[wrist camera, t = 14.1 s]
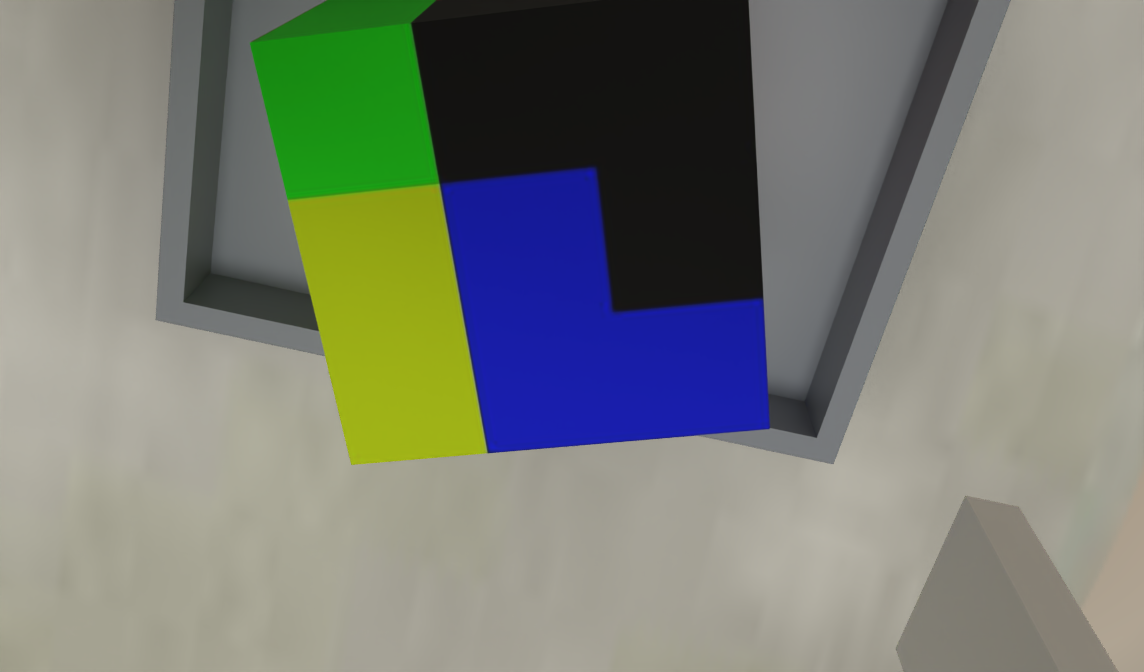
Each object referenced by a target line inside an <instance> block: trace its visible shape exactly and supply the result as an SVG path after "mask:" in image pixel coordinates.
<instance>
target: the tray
mask: <svg viewBox="0 0 1144 672" xmlns="http://www.w3.org/2000/svg"><path fill="white" fill-rule="evenodd" d="M324 1H326V0H175V3H174V19H173V36H172V53H171V70H170V87H169V103H168V120H167V137H166V154H165V171H164V187H163V204H162V221H161V238H160V255H159V272H158V288H157V305H156V320H158V321H162V322H167V323H172V324H176V325H181V326H186V327H190V328H195V329H200V330H205V331H209V332H214V333H219V334H223V335H228V336H233V337H237V338H242V339H247V340H252V341H256V342H261V343H266V344H270V345H275V346H280V347H284V348H289V349H294V350H299V351H303V352H308V353H313V354H317V355H322V356H325V354H324V349H323V345H322V341H321V337H320V333H319V329H318V324H317V320H316V316H315V312H314V308H313V304H312V300H311V295H310V291H309V287H308V283H307V279H306V275H305V271H304V266H303V262H302V258H301V254H300V250H299V246H298V241H297V237H296V233H295V229H294V225H293V221H292V217H291V212H290V208H289V204H288V200H287V196H286V192H285V188H284V183H283V179H282V175H281V171H280V167H279V163H278V159H277V154H276V150H275V146H274V142H273V138H272V134H271V129H270V125H269V121H268V117H267V113H266V109H265V105H264V100H263V96H262V92H261V88H260V84H259V80H258V76H257V71H256V67H255V63H254V59H253V55H252V51H251V47H250V42H252V41H253V40H255V39H257V38H259V37H261V36H262V35H264V34H266V33H268V32H270V31H272V30H273V29H275V28H277V27H279V26H281V25H282V24H284V23H286V22H288V21H290V20H292V19H293V18H295V17H297V16H299V15H301V14H302V13H304V12H306V11H308V10H310V9H311V8H313V7H315V6H317V5H319V4H321V3H322V2H324ZM1010 1H1011V0H749V17H750V37H751V57H752V77H753V97H754V117H755V137H756V157H757V177H758V197H759V217H760V237H761V257H762V277H763V297H764V317H765V337H766V357H767V377H768V397H769V418H770V429H766V430H754V431H743V432H731V433H719V434H707V435H698V436H703V437H707V438H712V439H717V440H721V441H726V442H731V443H735V444H740V445H745V446H749V447H754V448H759V449H764V450H768V451H773V452H778V453H782V454H787V455H792V456H796V457H801V458H806V459H811V460H815V461H820V462H825V463H829V464H834V461H835V459H836V456H837V453H838V451H839V448H840V445H841V443H842V440H843V438H844V435H845V432H846V430H847V427H848V425H849V422H850V419H851V417H852V414H853V411H854V409H855V406H856V404H857V401H858V398H859V396H860V393H861V391H862V388H863V385H864V383H865V380H866V377H867V375H868V372H869V370H870V367H871V364H872V362H873V359H874V357H875V354H876V351H877V349H878V346H879V343H880V341H881V338H882V336H883V333H884V330H885V328H886V325H887V323H888V320H889V317H890V315H891V312H892V309H893V307H894V304H895V302H896V299H897V296H898V294H899V291H900V289H901V286H902V283H903V281H904V278H905V275H906V273H907V270H908V268H909V265H910V262H911V260H912V257H913V255H914V252H915V249H916V247H917V244H918V241H919V239H920V236H921V234H922V231H923V228H924V226H925V223H926V221H927V218H928V215H929V213H930V210H931V207H932V205H933V202H934V200H935V197H936V194H937V192H938V189H939V187H940V184H941V181H942V179H943V176H944V173H945V171H946V168H947V166H948V163H949V160H950V158H951V155H952V153H953V150H954V147H955V145H956V142H957V139H958V137H959V134H960V132H961V129H962V126H963V124H964V121H965V119H966V116H967V113H968V111H969V108H970V105H971V103H972V100H973V98H974V95H975V92H976V90H977V87H978V85H979V82H980V79H981V77H982V74H983V71H984V69H985V66H986V64H987V61H988V58H989V56H990V53H991V51H992V48H993V45H994V43H995V40H996V37H997V35H998V32H999V30H1000V27H1001V24H1002V22H1003V19H1004V17H1005V14H1006V11H1007V9H1008V6H1009V3H1010Z"/></svg>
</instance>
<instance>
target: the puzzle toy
mask: <svg viewBox="0 0 1144 672" xmlns="http://www.w3.org/2000/svg"><path fill="white" fill-rule="evenodd" d="M250 47H251V51H252V55H253V59H254V63H255V67H256V71H257V76H258V80H259V84H260V88H261V92H262V96H263V100H264V105H265V109H266V113H267V117H268V121H269V125H270V129H271V134H272V138H273V142H274V146H275V150H276V154H277V159H278V163H279V167H280V171H281V175H282V179H283V183H284V188H285V192H286V196H287V200H288V204H289V208H290V212H291V217H292V221H293V225H294V229H295V233H296V237H297V241H298V246H299V250H300V254H301V258H302V262H303V266H304V271H305V275H306V279H307V283H308V287H309V291H310V295H311V300H312V304H313V308H314V312H315V316H316V320H317V324H318V329H319V333H320V337H321V341H322V345H323V349H324V354H325V358H326V362H327V366H328V370H329V374H330V378H331V383H332V387H333V391H334V395H335V399H336V403H337V407H338V412H339V416H340V420H341V424H342V428H343V432H344V436H345V441H346V445H347V449H348V453H349V457H350V461H351V465H355V464H367V463H379V462H391V461H402V460H414V459H426V458H437V457H449V456H461V455H473V454H484V453H496V452H508V451H520V450H531V449H543V448H555V447H567V446H578V445H590V444H602V443H614V442H625V441H637V440H649V439H660V438H672V437H684V436H696V435H707V434H719V433H731V432H743V431H754V430H766V429H770V418H769V397H768V377H767V357H766V337H765V317H764V297H763V277H762V257H761V237H760V217H759V197H758V177H757V157H756V137H755V117H754V97H753V77H752V57H751V37H750V17H749V0H326V1H324V2H322V3H321V4H319V5H317V6H315V7H313V8H311V9H310V10H308V11H306V12H304V13H302V14H301V15H299V16H297V17H295V18H293V19H292V20H290V21H288V22H286V23H284V24H282V25H281V26H279V27H277V28H275V29H273V30H272V31H270V32H268V33H266V34H264V35H262V36H261V37H259V38H257V39H255V40H253V41H252V42H250Z"/></svg>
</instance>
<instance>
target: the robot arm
mask: <svg viewBox="0 0 1144 672" xmlns="http://www.w3.org/2000/svg"><path fill="white" fill-rule="evenodd" d="M896 651H897V654H898V657H899V659H900V662H901V665H902V668H903V671H904V672H1118V670H1117V669H1116V667H1115V665H1114V664H1113V662H1112V660H1111V659H1110V657H1109V655H1108V654H1107V652H1106V650H1105V649H1104V647H1103V646H1102V644H1101V642H1100V640H1099V639H1098V637H1097V635H1096V634H1095V632H1094V631H1093V629H1092V627H1091V625H1090V624H1089V622H1088V621H1087V619H1086V618H1085V616H1084V614H1083V612H1082V611H1081V609H1080V607H1079V606H1078V604H1077V602H1076V601H1075V599H1074V597H1073V596H1072V594H1071V592H1070V591H1069V589H1068V587H1067V586H1066V584H1065V582H1064V581H1063V579H1062V577H1061V576H1060V574H1059V572H1058V571H1057V569H1056V567H1055V566H1054V564H1053V563H1052V561H1051V559H1050V558H1049V556H1048V554H1047V553H1046V551H1045V549H1044V548H1043V546H1042V544H1041V543H1040V541H1039V539H1038V538H1037V536H1036V534H1035V533H1034V531H1033V529H1032V528H1031V526H1030V524H1029V523H1028V521H1027V519H1026V518H1025V516H1024V514H1023V513H1022V511H1021V509H1020V508H1019V507H1017V506H1013V505H1008V504H1003V503H998V502H993V501H989V500H984V499H979V498H974V497H970V496H965V498H964V500H963V502H962V504H961V507H960V509H959V511H958V513H957V515H956V518H955V520H954V522H953V524H952V526H951V528H950V531H949V533H948V535H947V537H946V539H945V542H944V544H943V546H942V548H941V550H940V553H939V555H938V557H937V559H936V561H935V564H934V566H933V568H932V570H931V572H930V574H929V577H928V579H927V581H926V583H925V585H924V588H923V590H922V592H921V594H920V596H919V599H918V601H917V603H916V605H915V607H914V610H913V612H912V614H911V616H910V618H909V621H908V623H907V625H906V627H905V629H904V631H903V634H902V636H901V638H900V640H899V642H898V645H897V647H896Z"/></svg>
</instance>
